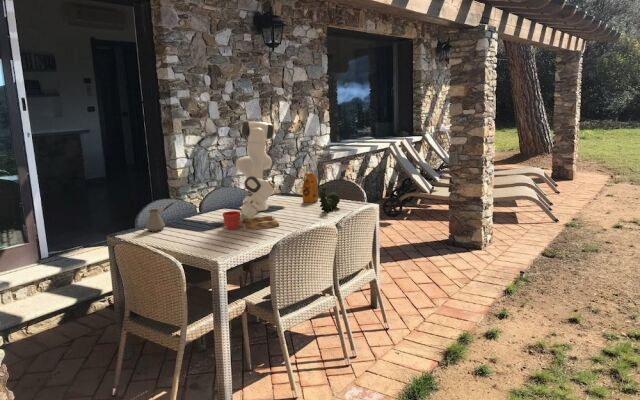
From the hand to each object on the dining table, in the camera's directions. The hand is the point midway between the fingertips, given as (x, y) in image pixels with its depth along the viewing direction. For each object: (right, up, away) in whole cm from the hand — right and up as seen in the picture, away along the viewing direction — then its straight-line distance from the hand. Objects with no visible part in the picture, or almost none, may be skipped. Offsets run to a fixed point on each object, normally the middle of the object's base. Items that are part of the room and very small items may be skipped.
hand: (240, 220), depth 309 cm
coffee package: (+42, +11, +71) cm, 84 cm away
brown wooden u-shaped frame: (+11, -3, +4) cm, 12 cm away
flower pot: (-5, -5, 0) cm, 7 cm away
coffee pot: (-50, -6, +7) cm, 51 cm away
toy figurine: (+57, +6, +39) cm, 69 cm away
